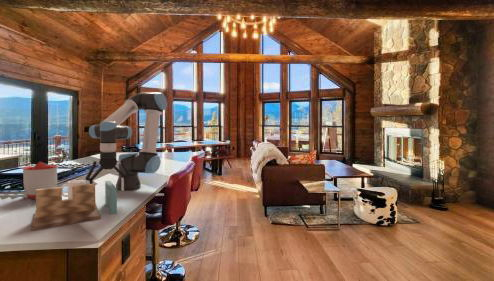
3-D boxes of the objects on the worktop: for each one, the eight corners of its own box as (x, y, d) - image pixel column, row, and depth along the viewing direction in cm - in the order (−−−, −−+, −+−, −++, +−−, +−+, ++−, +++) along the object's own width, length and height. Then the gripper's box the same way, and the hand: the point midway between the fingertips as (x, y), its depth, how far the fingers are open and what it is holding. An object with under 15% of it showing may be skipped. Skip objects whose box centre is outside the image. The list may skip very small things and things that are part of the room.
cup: (83, 200, 143) (83, 182, 142) (57, 202, 139) (57, 183, 138) (87, 196, 151) (87, 179, 150) (63, 198, 147) (62, 180, 146)
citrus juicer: (52, 190, 161) (52, 158, 160) (61, 196, 150) (61, 161, 149) (19, 195, 149) (18, 161, 148) (27, 202, 138) (25, 164, 137)
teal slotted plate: (110, 202, 140) (110, 180, 140) (116, 213, 124) (116, 188, 123) (105, 203, 139) (105, 181, 138) (111, 214, 123) (111, 189, 122)
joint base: (95, 204, 136) (94, 179, 135) (100, 218, 117) (100, 189, 116) (36, 212, 122) (35, 184, 121) (31, 230, 103) (30, 196, 102)
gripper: (80, 152, 125) (80, 196, 126) (135, 151, 139) (135, 190, 140) (79, 151, 131) (79, 193, 132) (132, 150, 145) (132, 187, 146)
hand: (108, 191), depth 136 cm, fingers open, 13 cm apart
